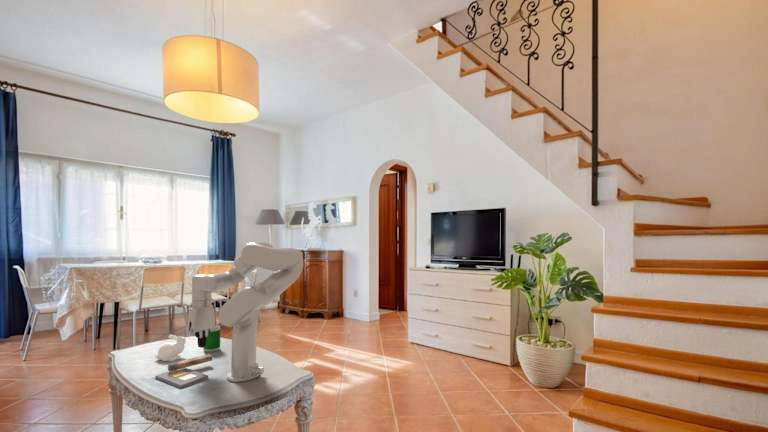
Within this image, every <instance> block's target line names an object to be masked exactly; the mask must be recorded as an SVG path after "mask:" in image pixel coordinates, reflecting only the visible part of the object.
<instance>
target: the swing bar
mask: <svg viewBox="0 0 768 432" xmlns="http://www.w3.org/2000/svg"><path fill="white" fill-rule="evenodd" d="M211 361H213V355H212V354H204V355H200V356H196V357H192V358H186V359H183V360H179V361H176V362H174V361H173V362H171V363H169V364H168V366H167V370H168V371H173V370H177V369H181V368H189V367H192V366H197V365H201V364H204V363H208V362H211Z"/></svg>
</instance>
